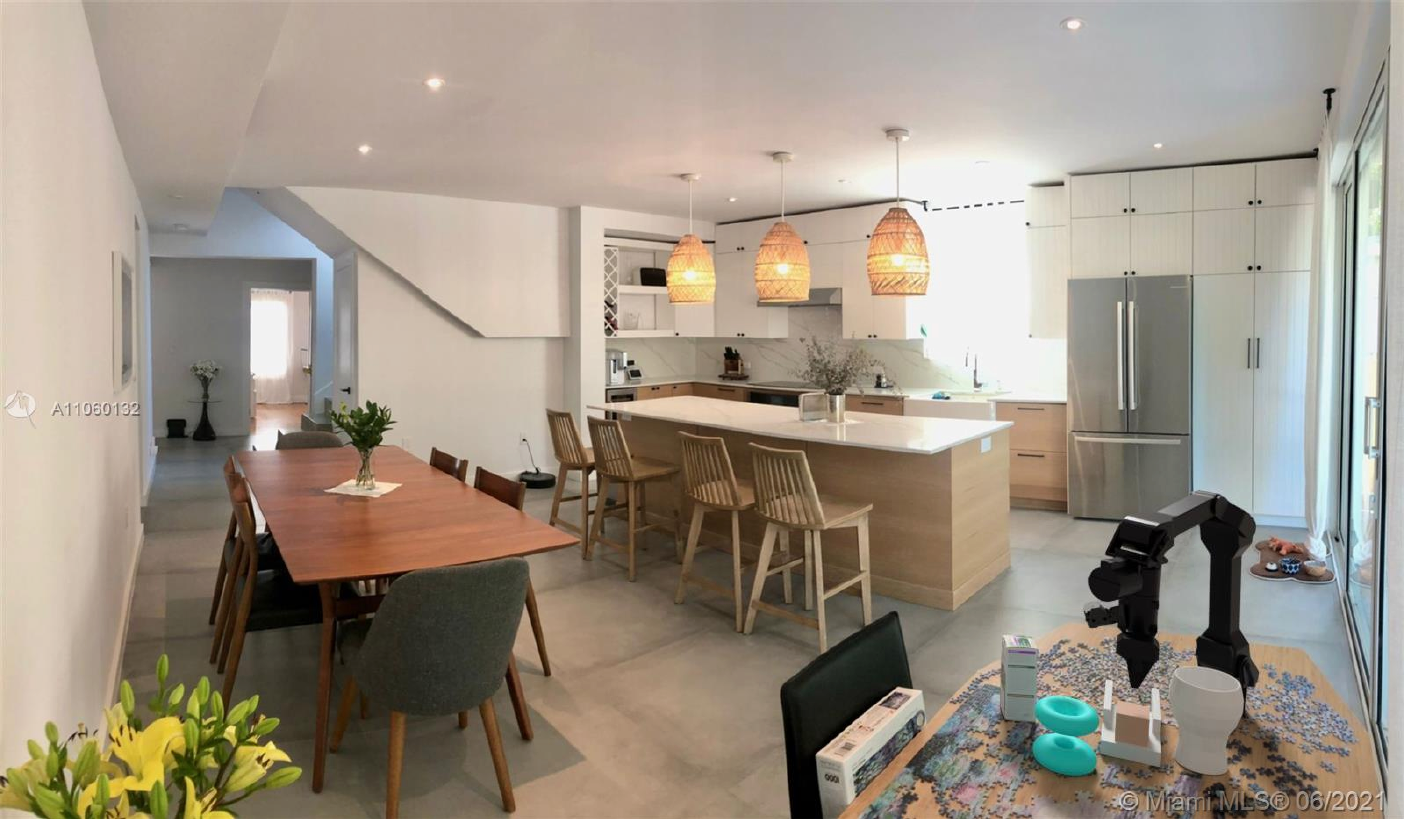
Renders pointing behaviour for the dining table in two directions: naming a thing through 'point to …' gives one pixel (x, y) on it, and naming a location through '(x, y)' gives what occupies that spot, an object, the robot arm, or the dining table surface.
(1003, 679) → the syrup box
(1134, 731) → the terracotta cube
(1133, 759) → the grey channel
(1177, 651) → the dining table surface
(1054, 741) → the donuts
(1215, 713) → the cup
